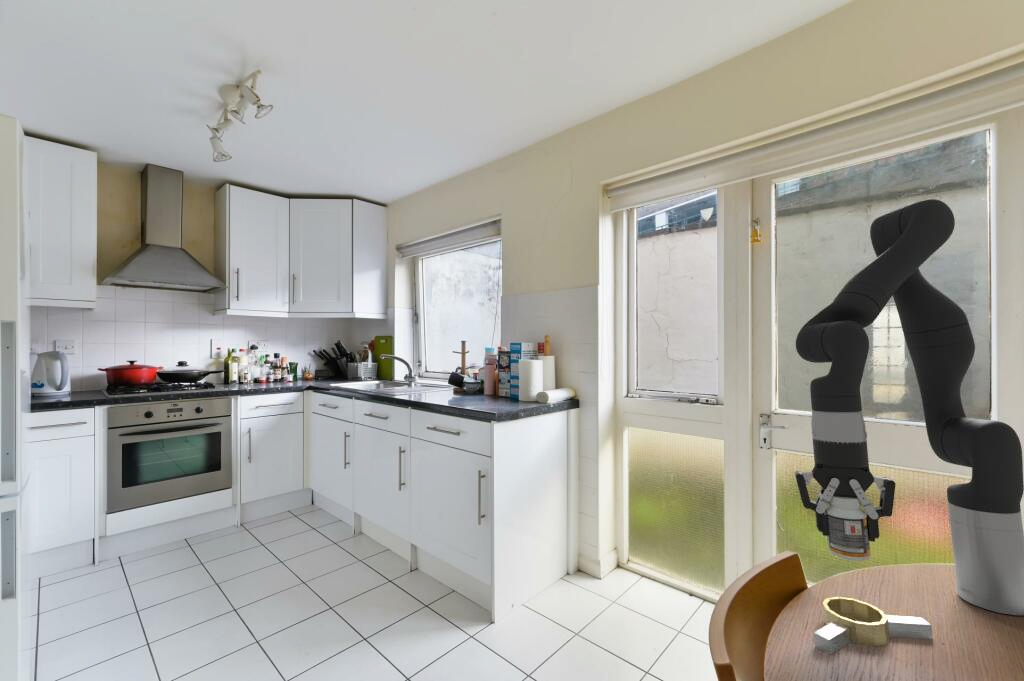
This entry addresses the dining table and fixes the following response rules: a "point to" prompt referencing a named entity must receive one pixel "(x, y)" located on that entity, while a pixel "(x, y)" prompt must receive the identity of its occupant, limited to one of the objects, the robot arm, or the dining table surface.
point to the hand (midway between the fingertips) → (847, 536)
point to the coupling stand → (864, 625)
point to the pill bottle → (847, 529)
